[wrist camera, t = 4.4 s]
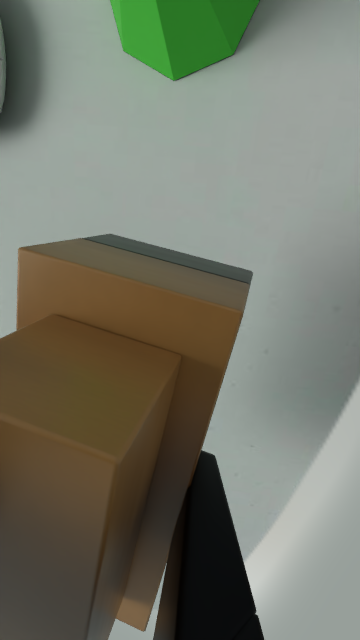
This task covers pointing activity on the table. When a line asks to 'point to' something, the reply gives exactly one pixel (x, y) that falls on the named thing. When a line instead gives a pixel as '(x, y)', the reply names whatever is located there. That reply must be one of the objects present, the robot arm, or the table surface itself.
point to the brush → (104, 425)
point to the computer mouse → (2, 67)
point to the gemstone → (181, 31)
